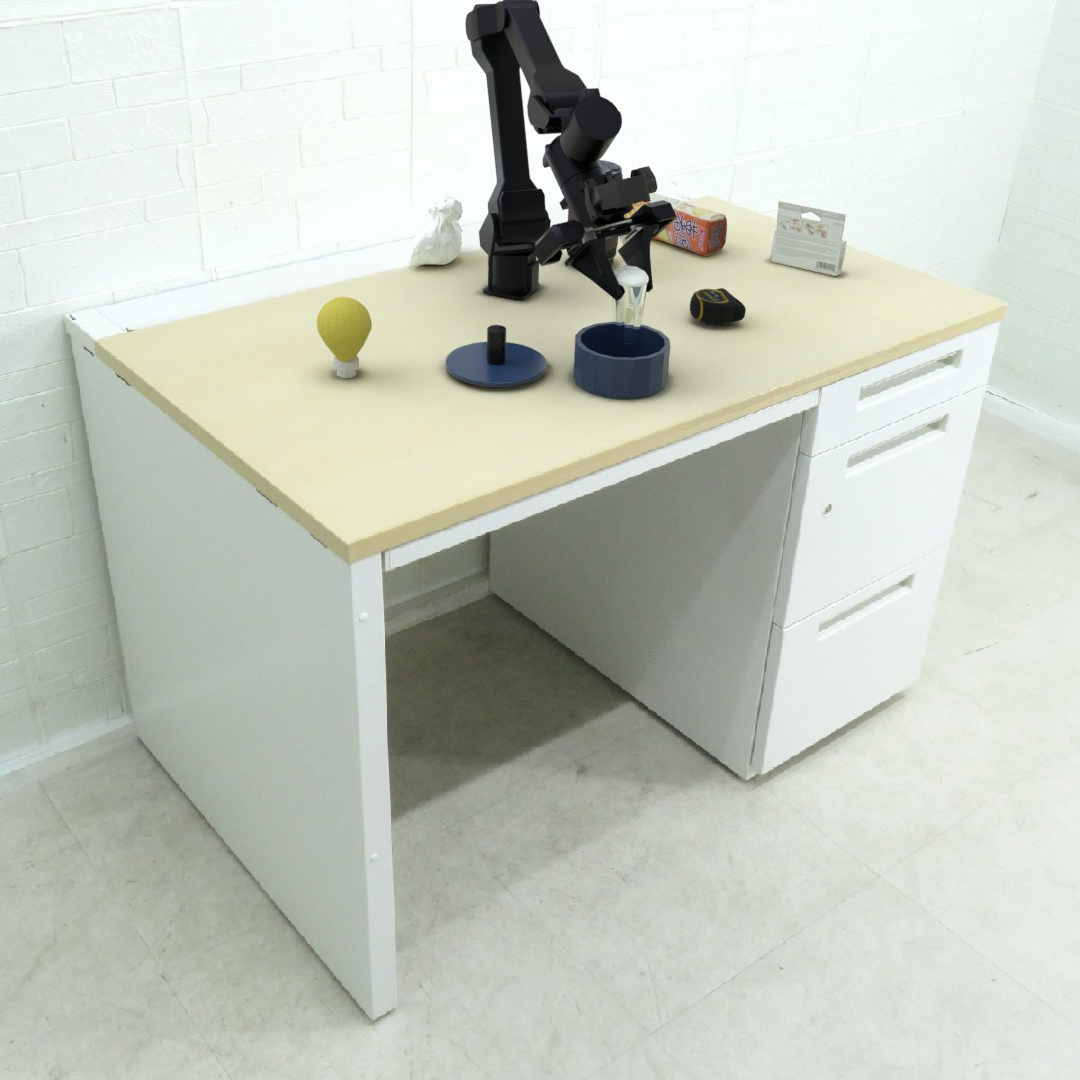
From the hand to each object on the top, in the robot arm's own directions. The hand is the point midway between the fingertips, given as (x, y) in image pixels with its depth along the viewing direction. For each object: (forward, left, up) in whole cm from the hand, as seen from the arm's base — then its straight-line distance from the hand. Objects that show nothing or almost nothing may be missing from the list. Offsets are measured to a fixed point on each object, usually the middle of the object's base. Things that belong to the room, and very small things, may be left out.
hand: (634, 294), depth 157 cm
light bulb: (-32, -15, -12) cm, 37 cm away
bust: (-41, +27, -12) cm, 51 cm away
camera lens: (-20, +37, -12) cm, 44 cm away
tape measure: (+4, +25, -12) cm, 28 cm away
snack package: (-14, +54, -12) cm, 57 cm away
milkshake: (-1, +1, -6) cm, 7 cm away
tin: (-1, 0, -12) cm, 12 cm away
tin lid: (-16, -5, -11) cm, 20 cm away
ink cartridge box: (+10, +52, -12) cm, 55 cm away
